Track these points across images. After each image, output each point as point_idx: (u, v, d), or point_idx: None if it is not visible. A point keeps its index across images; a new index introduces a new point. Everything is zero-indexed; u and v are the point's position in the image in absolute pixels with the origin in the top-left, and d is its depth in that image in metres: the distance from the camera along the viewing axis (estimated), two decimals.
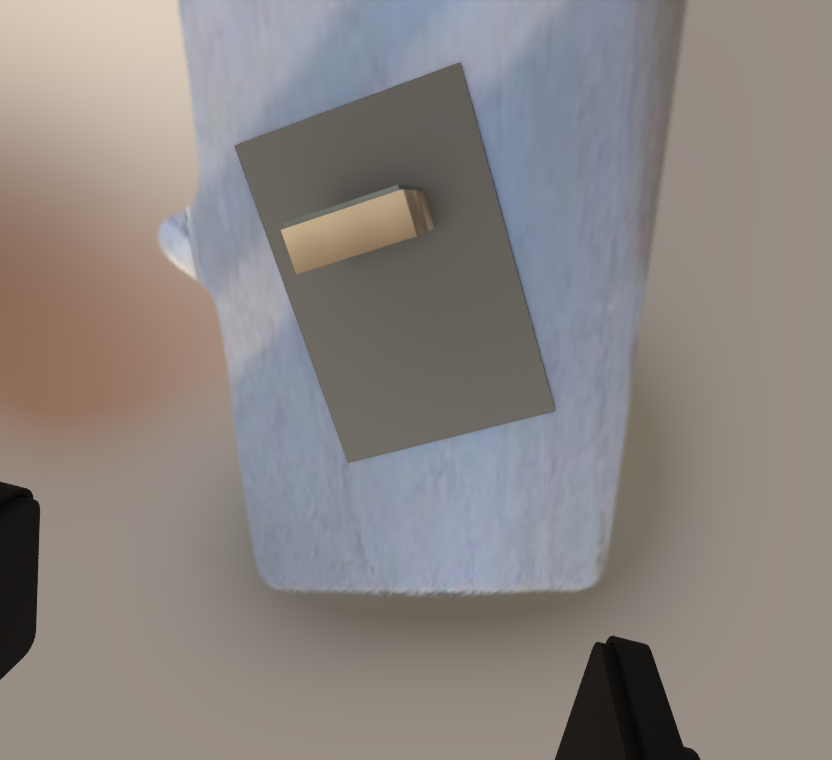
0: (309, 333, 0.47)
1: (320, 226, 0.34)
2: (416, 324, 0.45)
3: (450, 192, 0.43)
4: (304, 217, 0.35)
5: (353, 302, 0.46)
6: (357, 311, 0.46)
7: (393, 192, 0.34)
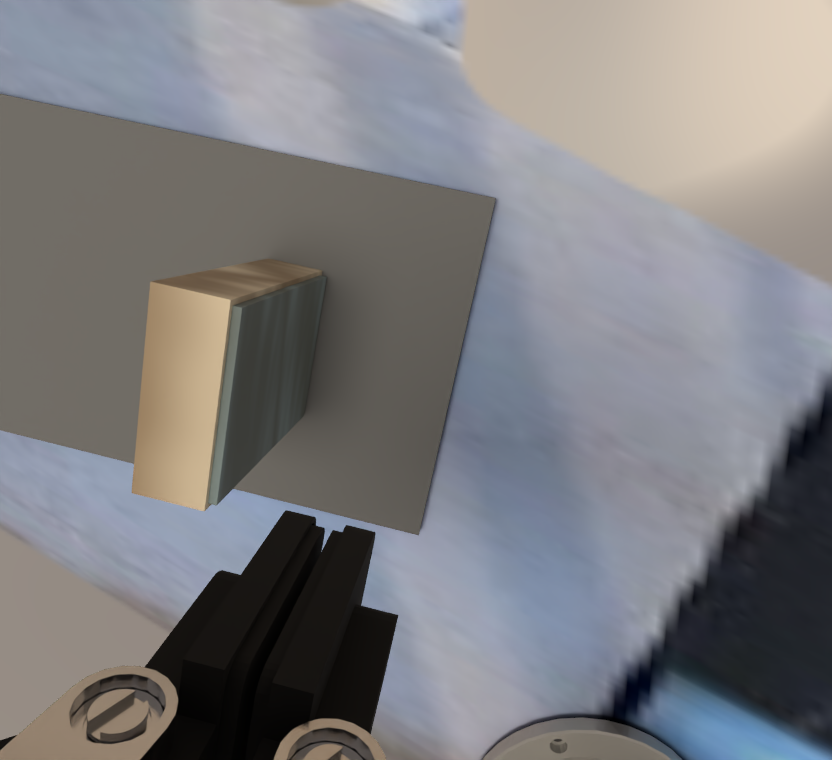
0: (183, 146, 0.28)
1: (206, 366, 0.19)
2: (135, 311, 0.30)
3: (281, 445, 0.31)
4: (235, 346, 0.19)
5: (200, 241, 0.29)
6: (185, 240, 0.29)
7: (207, 495, 0.21)
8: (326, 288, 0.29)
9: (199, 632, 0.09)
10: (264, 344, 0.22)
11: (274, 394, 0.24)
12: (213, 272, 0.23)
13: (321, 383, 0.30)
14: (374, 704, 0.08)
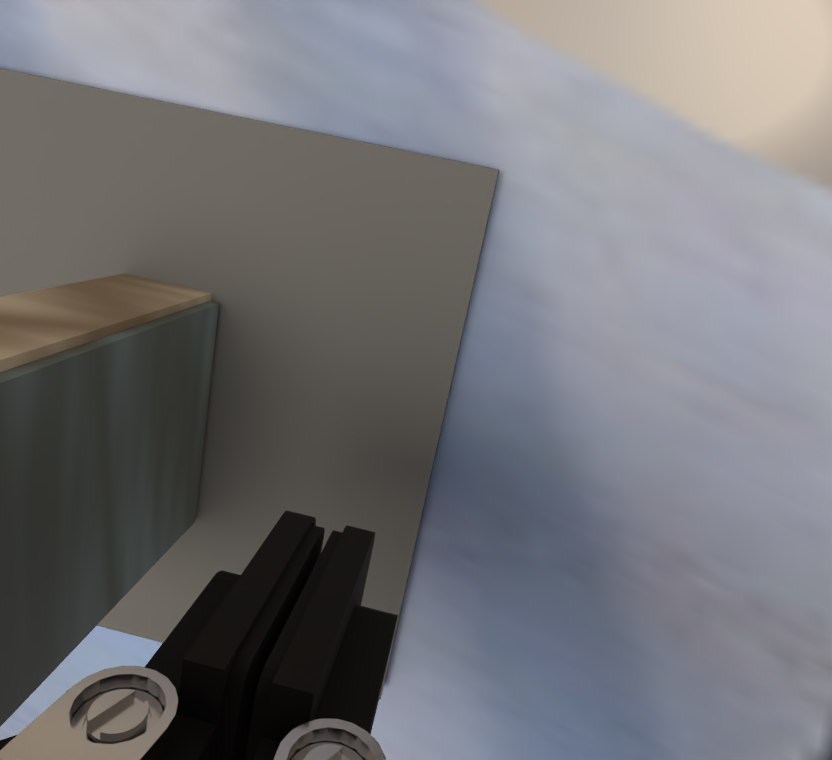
0: None
1: None
2: None
3: (163, 564, 0.20)
4: None
5: (12, 246, 0.18)
6: None
7: None
8: (220, 322, 0.17)
9: (199, 632, 0.09)
10: (30, 464, 0.11)
11: (94, 531, 0.13)
12: None
13: (220, 472, 0.19)
14: (374, 704, 0.08)
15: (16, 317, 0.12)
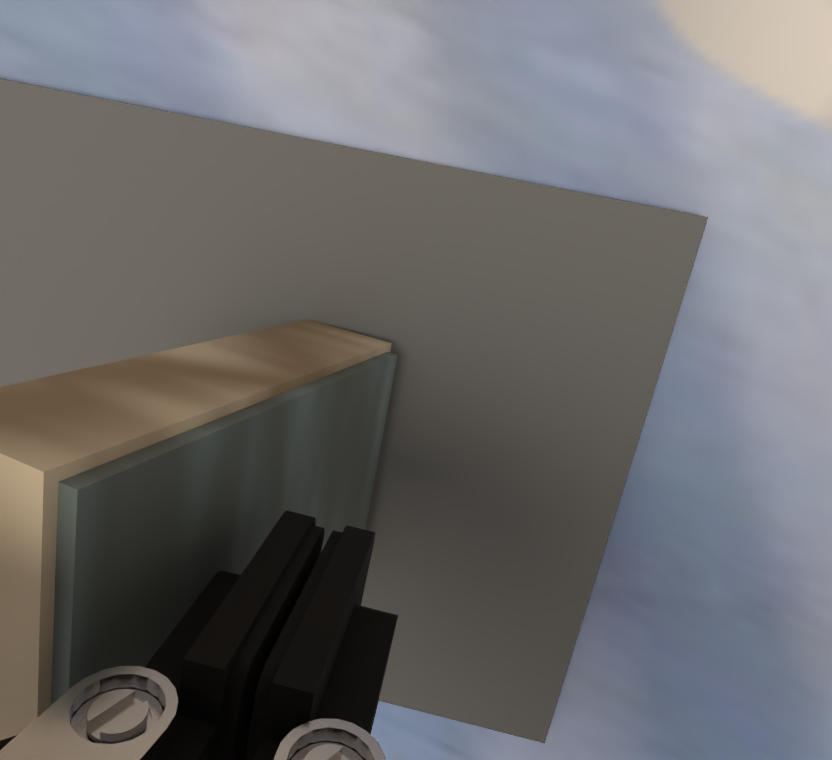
0: (162, 134, 0.16)
1: (11, 615, 0.08)
2: None
3: None
4: (70, 577, 0.08)
5: (193, 292, 0.17)
6: (169, 290, 0.17)
7: None
8: (404, 368, 0.17)
9: (199, 632, 0.09)
10: (205, 526, 0.10)
11: None
12: (137, 363, 0.11)
13: (393, 516, 0.18)
14: (374, 704, 0.08)
15: (206, 368, 0.12)
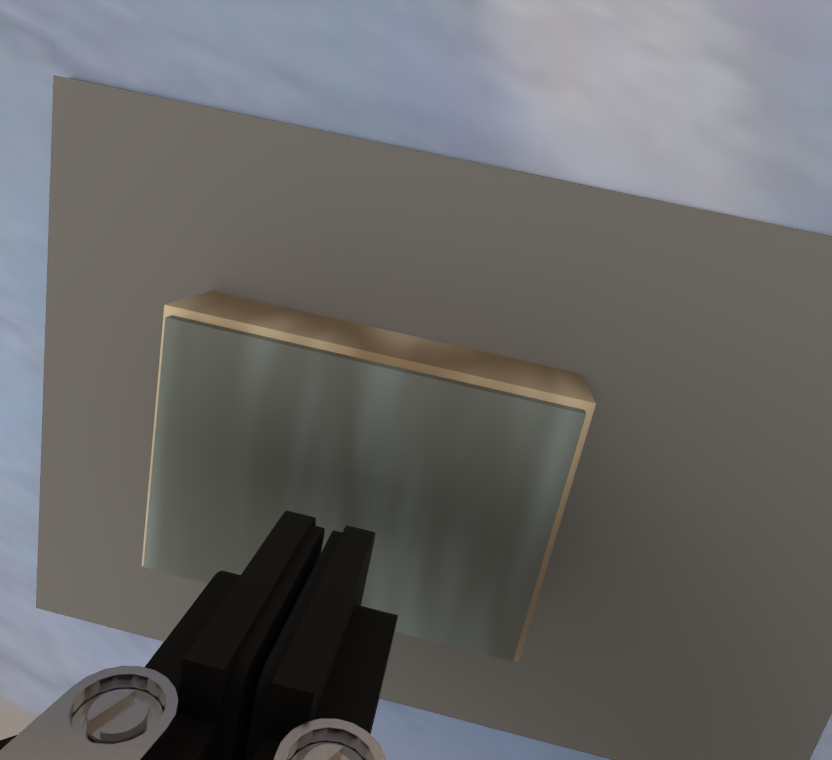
0: (450, 182, 0.16)
1: None
2: None
3: (568, 665, 0.19)
4: (163, 368, 0.15)
5: (464, 344, 0.17)
6: None
7: None
8: (686, 426, 0.17)
9: (199, 632, 0.09)
10: (261, 410, 0.15)
11: (327, 521, 0.15)
12: (341, 322, 0.17)
13: (653, 576, 0.18)
14: (374, 704, 0.08)
15: (365, 335, 0.16)
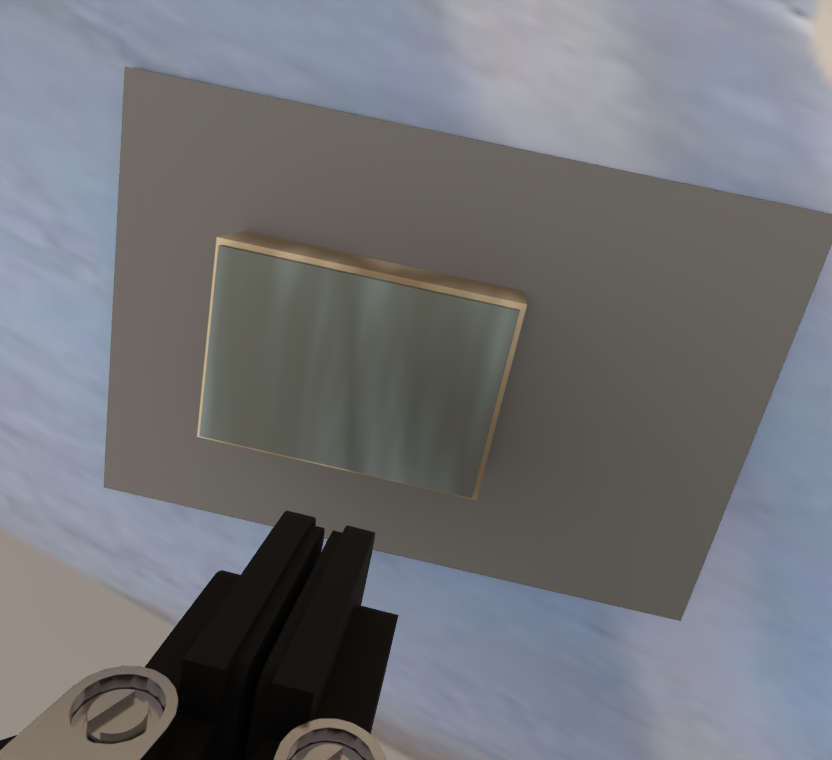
0: (423, 147, 0.21)
1: None
2: None
3: (517, 517, 0.25)
4: (216, 283, 0.21)
5: (435, 270, 0.22)
6: None
7: (200, 423, 0.22)
8: (598, 329, 0.22)
9: (199, 632, 0.09)
10: (288, 313, 0.20)
11: (336, 396, 0.21)
12: (343, 253, 0.22)
13: (578, 444, 0.24)
14: (374, 704, 0.08)
15: (362, 261, 0.21)
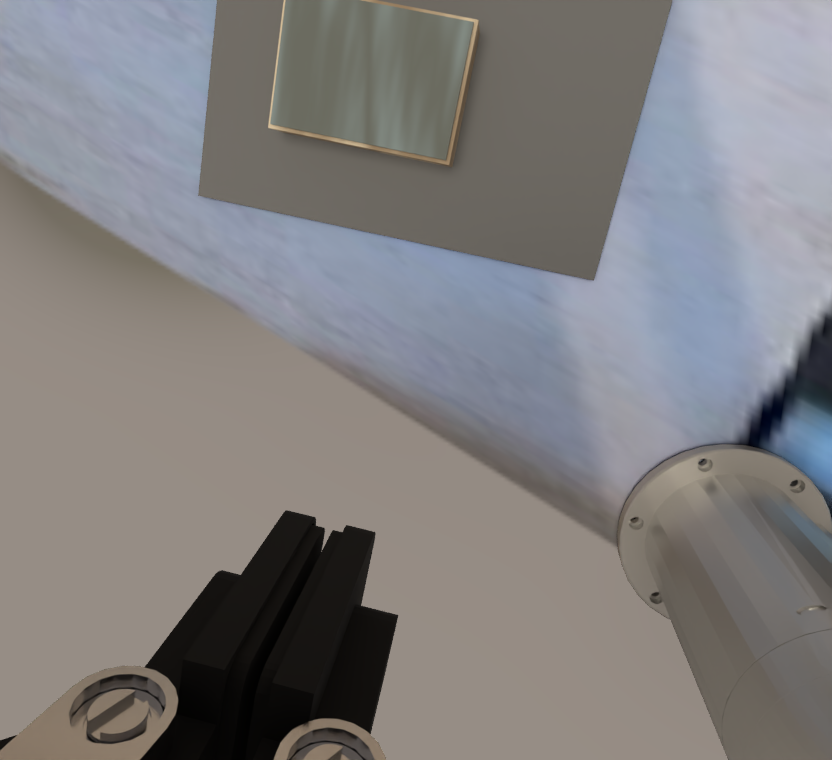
0: None
1: None
2: None
3: (479, 203, 0.37)
4: (284, 13, 0.33)
5: None
6: None
7: (271, 117, 0.34)
8: (530, 57, 0.34)
9: (199, 632, 0.09)
10: (329, 31, 0.33)
11: (359, 89, 0.33)
12: None
13: (519, 145, 0.36)
14: (374, 704, 0.08)
15: None
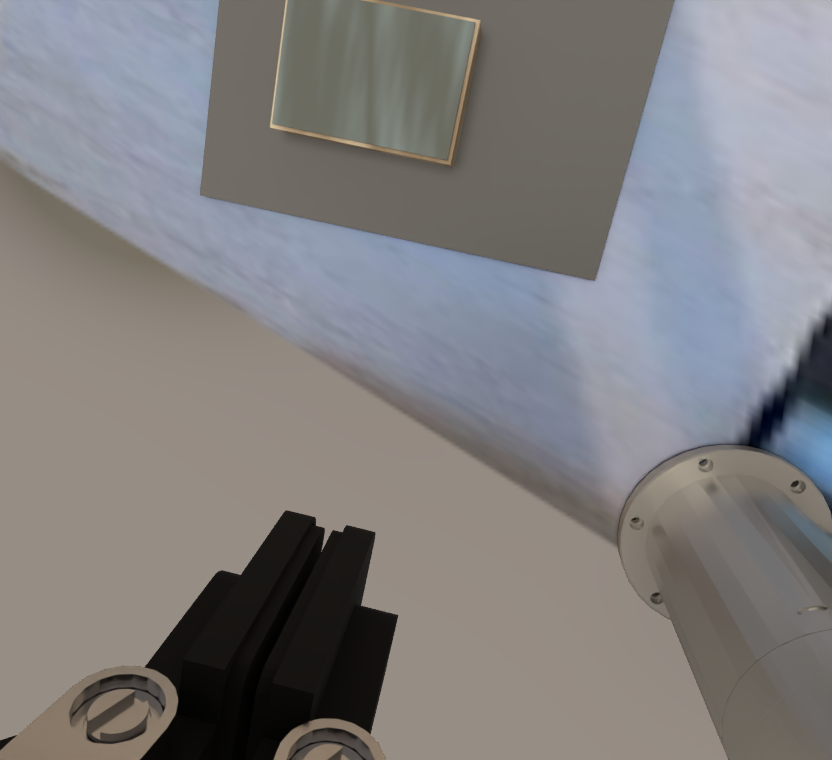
0: None
1: None
2: None
3: (481, 203, 0.37)
4: (286, 13, 0.33)
5: None
6: None
7: (272, 117, 0.35)
8: (531, 58, 0.34)
9: (199, 632, 0.09)
10: (331, 31, 0.33)
11: (361, 89, 0.33)
12: None
13: (520, 145, 0.36)
14: (374, 704, 0.08)
15: None
